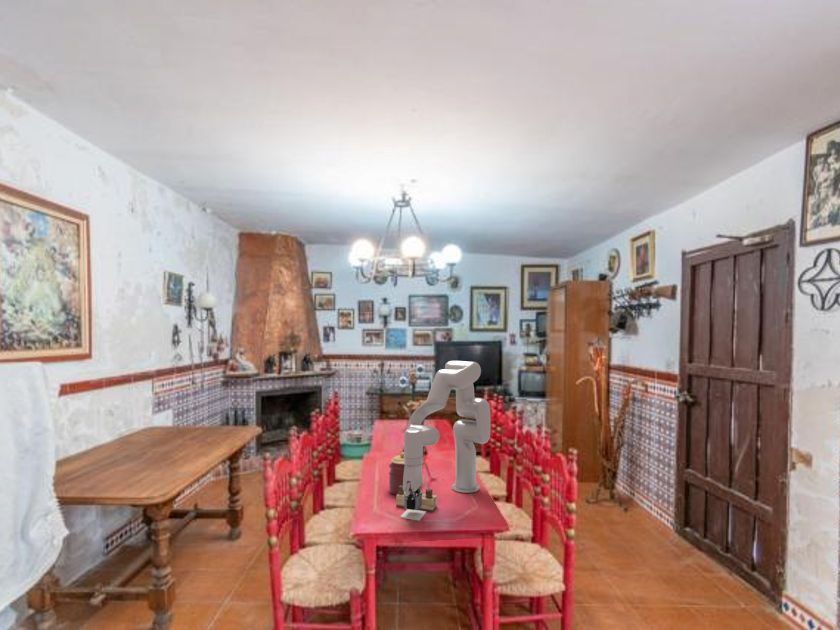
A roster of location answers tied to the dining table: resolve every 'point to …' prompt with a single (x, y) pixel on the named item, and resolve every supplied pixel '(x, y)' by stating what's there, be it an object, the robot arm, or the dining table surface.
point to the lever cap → (417, 500)
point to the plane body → (427, 499)
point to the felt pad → (413, 514)
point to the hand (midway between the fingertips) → (413, 506)
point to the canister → (396, 473)
